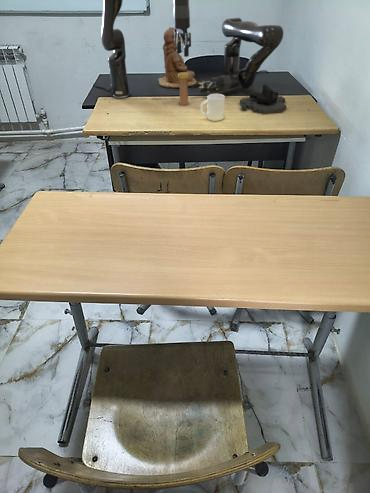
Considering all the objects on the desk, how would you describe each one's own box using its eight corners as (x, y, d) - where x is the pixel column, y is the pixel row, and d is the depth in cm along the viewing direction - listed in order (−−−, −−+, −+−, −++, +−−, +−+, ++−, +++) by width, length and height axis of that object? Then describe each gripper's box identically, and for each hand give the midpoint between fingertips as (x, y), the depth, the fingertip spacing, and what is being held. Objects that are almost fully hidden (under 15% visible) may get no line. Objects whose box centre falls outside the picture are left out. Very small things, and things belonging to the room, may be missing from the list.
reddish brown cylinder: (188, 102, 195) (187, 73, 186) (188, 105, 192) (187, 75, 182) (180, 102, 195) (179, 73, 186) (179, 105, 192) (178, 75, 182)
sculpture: (197, 88, 213) (196, 30, 194) (156, 89, 214) (152, 31, 194) (196, 75, 234) (196, 22, 215) (159, 76, 235) (156, 23, 215)
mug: (201, 122, 172) (201, 100, 166) (198, 116, 178) (198, 94, 172) (225, 120, 173) (226, 98, 167) (221, 114, 180) (222, 93, 173)
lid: (188, 75, 187) (188, 72, 186) (188, 78, 183) (188, 75, 182) (178, 75, 187) (178, 72, 186) (177, 78, 183) (177, 75, 182)
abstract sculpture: (248, 96, 172) (237, 84, 187) (247, 115, 178) (235, 102, 193) (298, 91, 175) (282, 80, 190) (294, 110, 181) (280, 98, 196)
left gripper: (168, 15, 171) (170, 53, 182) (181, 18, 161) (182, 58, 172) (182, 13, 174) (183, 51, 184) (195, 17, 164) (196, 56, 174)
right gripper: (214, 73, 200) (189, 78, 194) (229, 79, 191) (203, 84, 185) (214, 87, 205) (189, 92, 199) (228, 93, 196) (203, 99, 190)
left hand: (182, 54), depth 178 cm, fingers open, 7 cm apart
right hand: (196, 88), depth 192 cm, fingers open, 8 cm apart
